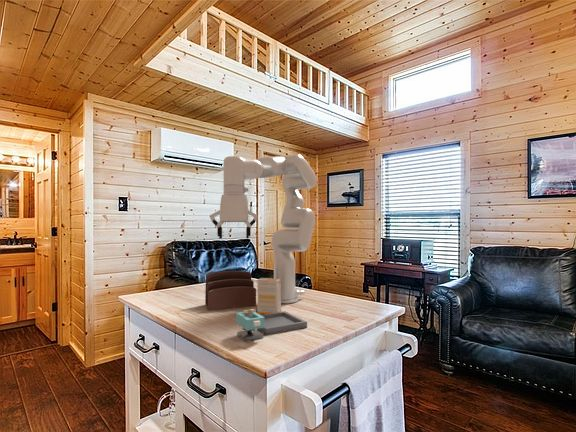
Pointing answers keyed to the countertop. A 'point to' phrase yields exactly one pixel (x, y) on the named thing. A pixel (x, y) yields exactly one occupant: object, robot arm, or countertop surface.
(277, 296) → the supplement box
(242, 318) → the teal rectangular frame
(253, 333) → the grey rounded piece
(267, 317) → the tray
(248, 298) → the letter holder
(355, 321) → the countertop surface
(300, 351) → the countertop surface
